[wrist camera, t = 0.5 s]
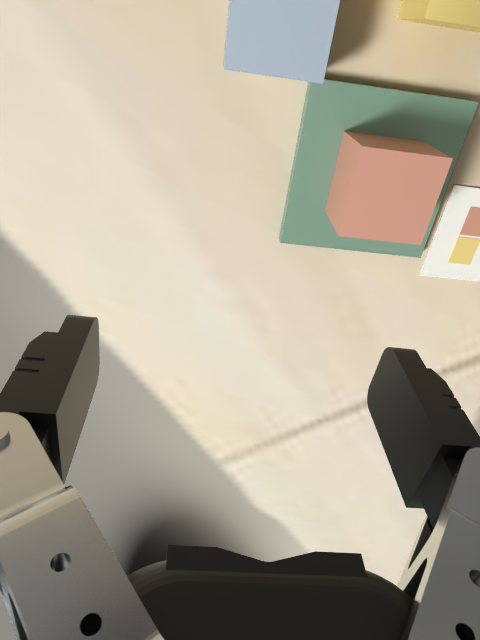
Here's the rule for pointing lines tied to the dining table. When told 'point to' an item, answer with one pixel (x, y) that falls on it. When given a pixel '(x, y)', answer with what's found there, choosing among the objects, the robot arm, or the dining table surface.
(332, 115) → the build plate
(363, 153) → the base brick
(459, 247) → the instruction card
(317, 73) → the slate brick
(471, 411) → the dining table surface
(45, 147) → the dining table surface
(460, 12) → the mustard brick
